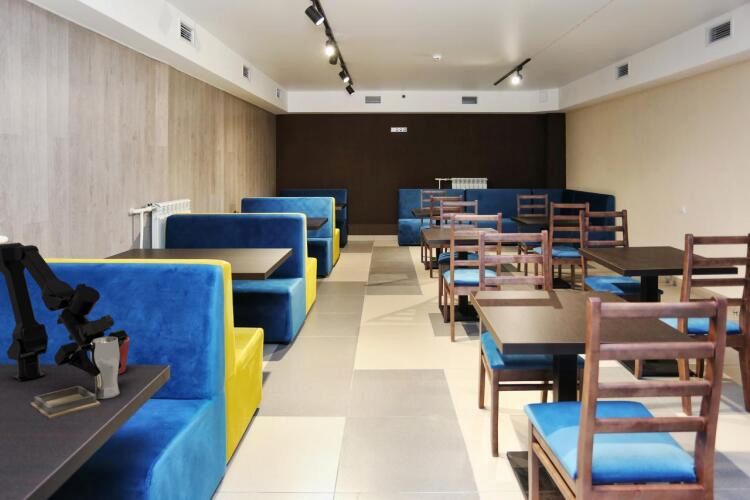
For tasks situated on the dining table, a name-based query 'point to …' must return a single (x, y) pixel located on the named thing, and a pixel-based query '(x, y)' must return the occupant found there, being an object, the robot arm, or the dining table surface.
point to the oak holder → (64, 401)
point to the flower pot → (123, 355)
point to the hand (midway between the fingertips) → (108, 371)
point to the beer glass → (105, 366)
